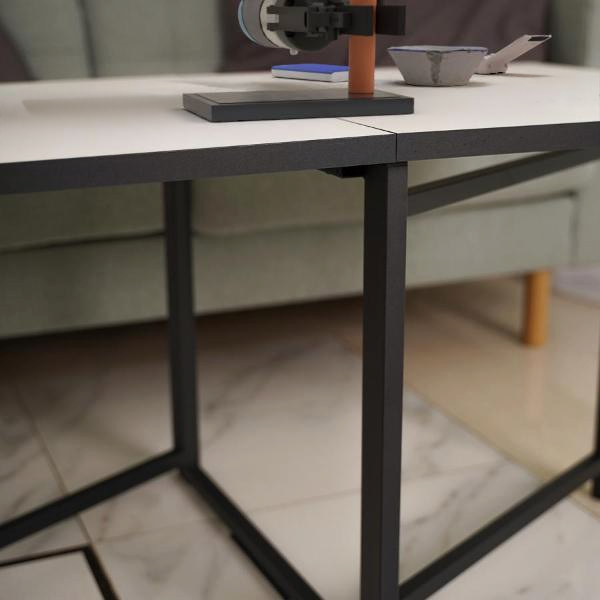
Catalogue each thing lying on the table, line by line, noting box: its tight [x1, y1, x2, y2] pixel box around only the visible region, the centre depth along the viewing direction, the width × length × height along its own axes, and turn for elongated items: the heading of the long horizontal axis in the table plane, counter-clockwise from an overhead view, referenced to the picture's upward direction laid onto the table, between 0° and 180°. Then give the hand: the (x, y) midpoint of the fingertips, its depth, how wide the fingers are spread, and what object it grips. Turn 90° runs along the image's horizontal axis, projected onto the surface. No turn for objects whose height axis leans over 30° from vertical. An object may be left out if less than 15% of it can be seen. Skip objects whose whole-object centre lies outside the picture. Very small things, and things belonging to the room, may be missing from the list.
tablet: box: [182, 87, 415, 123], centre depth 90 cm, size 20×12×2 cm, turn 109°
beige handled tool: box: [474, 34, 552, 75], centre depth 139 cm, size 6×6×25 cm
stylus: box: [347, 0, 377, 94], centre depth 90 cm, size 3×3×12 cm
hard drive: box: [271, 63, 349, 83], centre depth 129 cm, size 2×8×12 cm
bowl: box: [386, 44, 490, 87], centre depth 120 cm, size 13×13×5 cm
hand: (385, 20), depth 84 cm, fingers closed on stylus, 3 cm apart
